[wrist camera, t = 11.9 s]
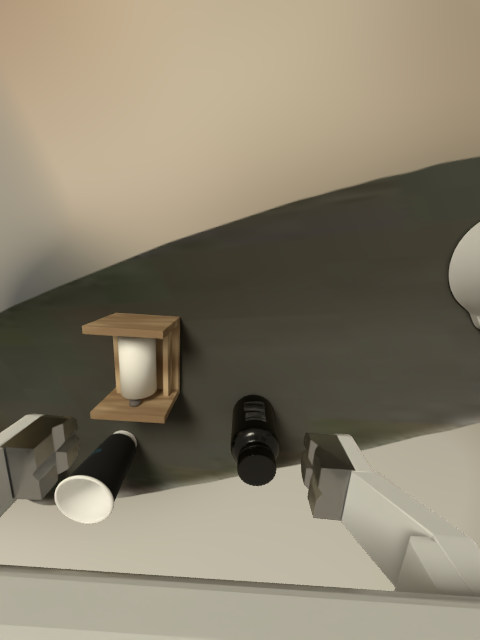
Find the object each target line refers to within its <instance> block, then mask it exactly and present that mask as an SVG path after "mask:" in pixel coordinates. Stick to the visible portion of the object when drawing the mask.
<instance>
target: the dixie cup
mask: <svg viewBox="0 0 480 640" xmlns="http://www.w3.org/2000/svg"><path fill="white" fill-rule="evenodd" d="M136 446H137V441H136V438H135V437H134V436H133V435H132V434H131V433H129V432H127V431H117V432H115V433H114V434H112V435H110V436H109V437H108V438H107V439H106V440H105V441H104V442H103V443H102V444H101V445H100V446H99V447H98V448H97V449H96V450H95V451H94V452H93V453H92V454H91V455H90V456H89V457H88V458H87V459H86V460H85V461H84V462H83V463H82V464H81V465H80V466H79V467H78V468H77V469H76V470H75V471H74V472H73V473H72V474H71V475H70V476H69V477H68V478H66V479H64V480H63V481H62V482H61V483H60V484H59V485H58V486H57V488H56V490H55V502H56V505H57V507H58V509H59V510H60V511H61V512H62V513H63V514H64V515H65V516H66V517H67V518H69V519H71V520H73V521H75V522H78V523H83V524H94V523H98V522H101V521H103V520H104V519H106V518H107V517H108V516H109V515H110V514H111V512H112V510H113V507H114V501H115V499H116V496H117V494H118V492H119V489H120V487H121V485H122V482H123V480H124V478H125V475H126V473H127V471H128V468H129V466H130V464H131V461H132V459H133V457H134V454H135V452H136Z"/></svg>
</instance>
